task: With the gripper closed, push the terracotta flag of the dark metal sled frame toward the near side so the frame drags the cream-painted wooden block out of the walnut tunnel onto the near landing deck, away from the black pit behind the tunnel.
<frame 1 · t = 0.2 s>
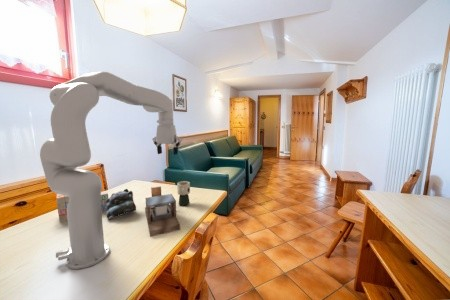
hand: (167, 154, 107), 30 cm above the table, tool pointing down, fingers open, 9 cm apart
lucky cat figurine: (120, 215, 102), on the table
stack of blocks: (85, 213, 104), on the table
sled: (159, 201, 100), point 8 cm above the table, slide at 0.0 cm
block: (161, 216, 95), point 2 cm above the table, touching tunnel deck
character mug: (184, 204, 115), on the table
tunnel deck: (161, 220, 95), on the table
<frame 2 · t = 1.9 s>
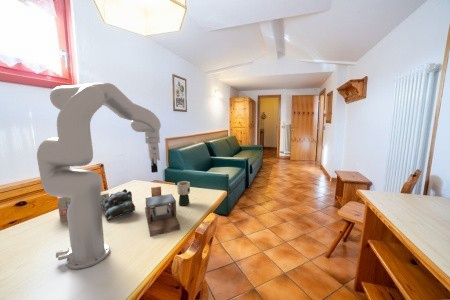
hand: (154, 172, 112), 19 cm above the table, tool pointing down, fingers closed
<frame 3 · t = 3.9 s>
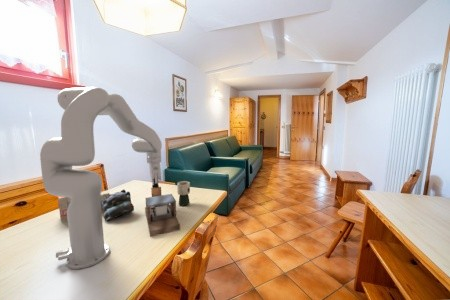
hand: (155, 191, 110), 9 cm above the table, tool pointing down, fingers closed
sled: (159, 202, 99), point 8 cm above the table, slide at -0.3 cm, touching gripper
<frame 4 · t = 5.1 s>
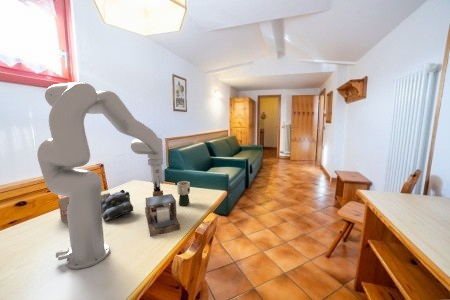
hand: (157, 195, 104), 9 cm above the table, tool pointing down, fingers closed
sled: (161, 207, 93), point 7 cm above the table, slide at -7.0 cm, touching gripper
block: (163, 221, 90), point 3 cm above the table, touching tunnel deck
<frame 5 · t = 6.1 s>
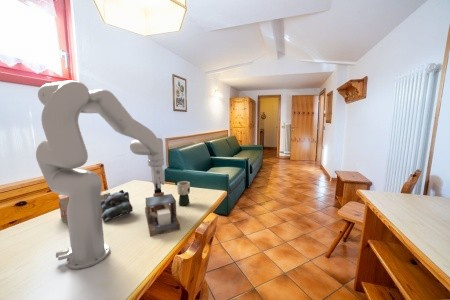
hand: (158, 196, 102), 9 cm above the table, tool pointing down, fingers closed
sled: (161, 209, 91), point 8 cm above the table, slide at -9.8 cm, touching block, gripper
block: (164, 224, 87), point 2 cm above the table, touching sled, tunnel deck
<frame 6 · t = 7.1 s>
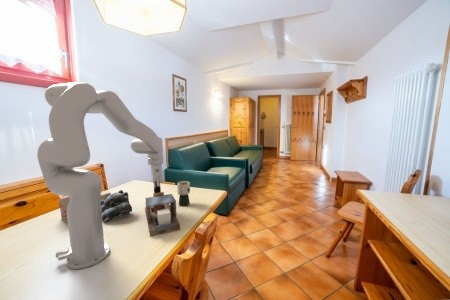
hand: (157, 194, 105), 9 cm above the table, tool pointing down, fingers closed
sled: (161, 209, 91), point 7 cm above the table, slide at -9.6 cm
block: (164, 224, 87), point 2 cm above the table, touching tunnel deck
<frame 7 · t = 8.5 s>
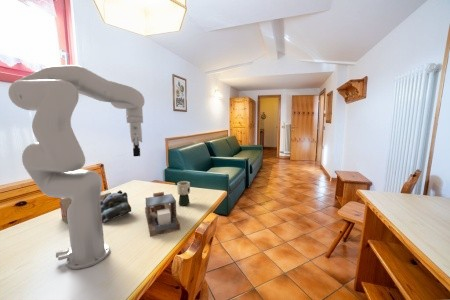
hand: (136, 155, 101), 30 cm above the table, tool pointing down, fingers closed
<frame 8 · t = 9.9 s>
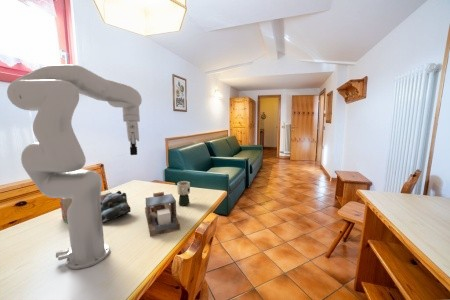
hand: (133, 154, 101), 31 cm above the table, tool pointing down, fingers closed
at the end: sled slide at -9.6 cm; block inside the target area (0.2 cm from its centre), point 2.5 cm above the table; block tilted 0° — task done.
